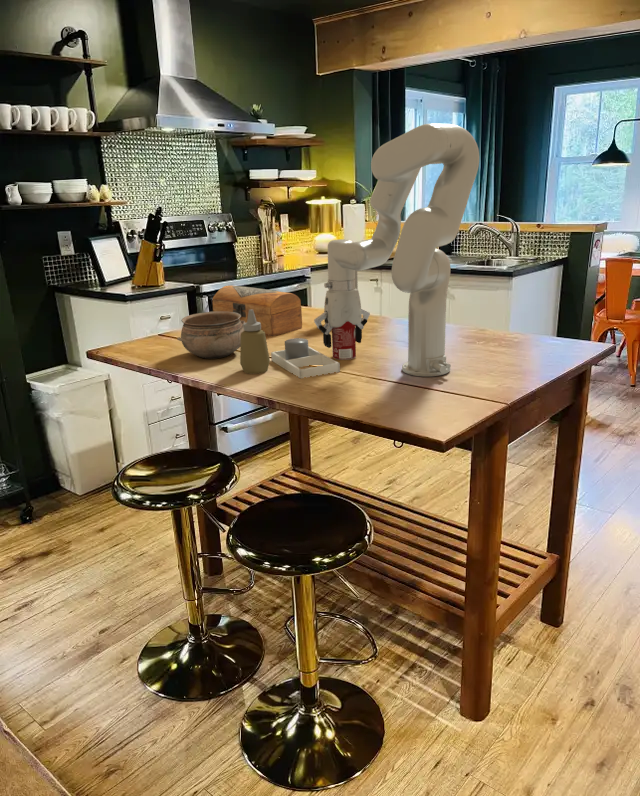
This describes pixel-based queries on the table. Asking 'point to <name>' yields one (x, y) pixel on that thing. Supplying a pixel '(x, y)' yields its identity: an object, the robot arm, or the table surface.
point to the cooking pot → (212, 334)
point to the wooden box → (262, 307)
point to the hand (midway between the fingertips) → (342, 344)
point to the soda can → (344, 341)
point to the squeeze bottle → (253, 347)
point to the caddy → (303, 359)
